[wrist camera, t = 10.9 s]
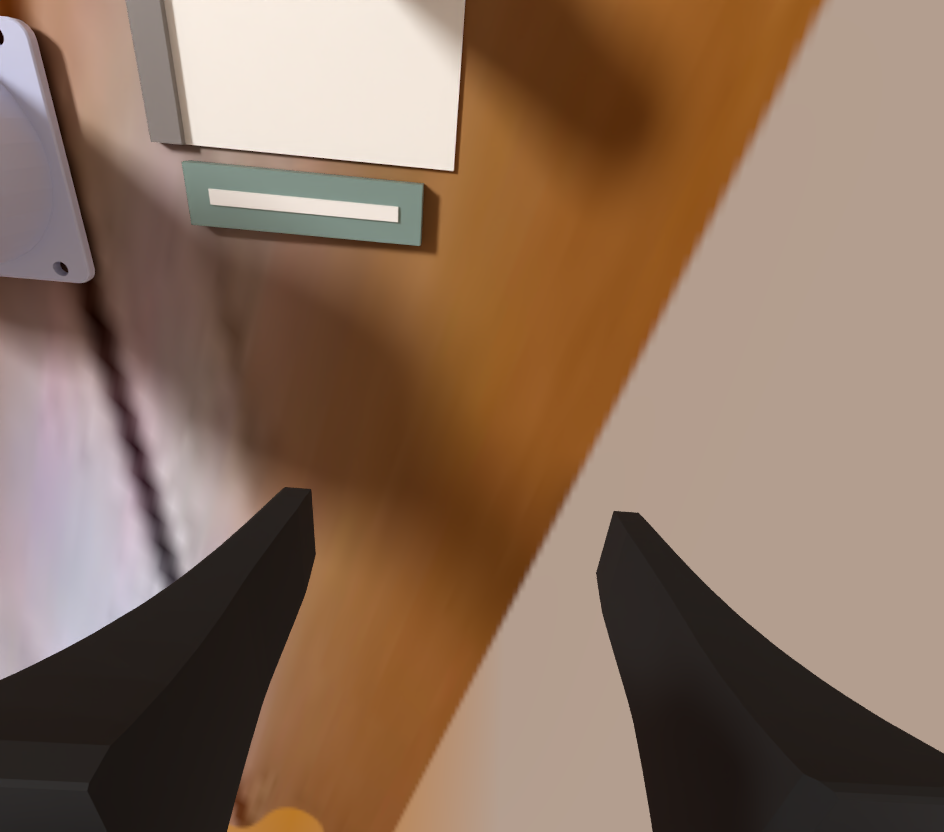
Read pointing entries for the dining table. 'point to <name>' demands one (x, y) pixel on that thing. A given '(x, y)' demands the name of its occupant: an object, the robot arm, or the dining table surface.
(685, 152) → the dining table surface
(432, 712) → the dining table surface
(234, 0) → the white rectangular slab
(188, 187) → the green striped bar
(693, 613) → the robot arm
